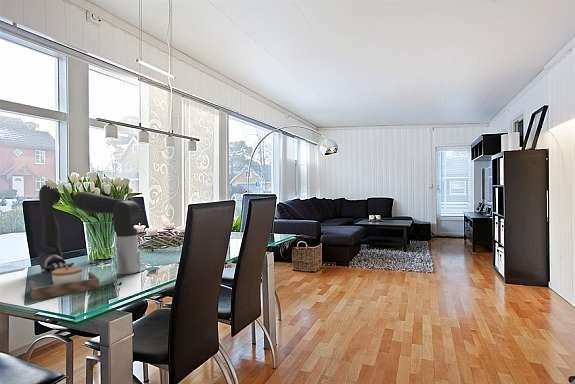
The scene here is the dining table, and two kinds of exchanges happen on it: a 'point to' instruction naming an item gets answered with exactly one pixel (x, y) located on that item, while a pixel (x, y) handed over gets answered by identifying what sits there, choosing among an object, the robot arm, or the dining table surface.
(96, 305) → the dining table surface
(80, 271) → the lidded jar
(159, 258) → the dining table surface
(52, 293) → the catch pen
